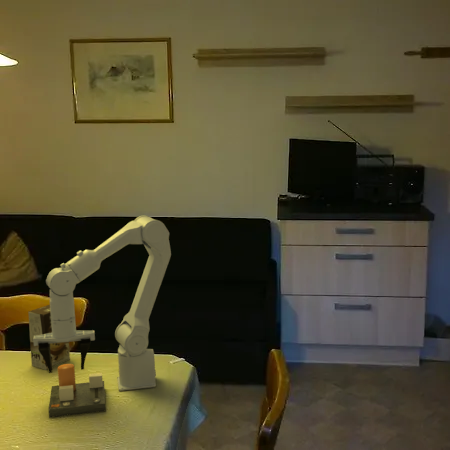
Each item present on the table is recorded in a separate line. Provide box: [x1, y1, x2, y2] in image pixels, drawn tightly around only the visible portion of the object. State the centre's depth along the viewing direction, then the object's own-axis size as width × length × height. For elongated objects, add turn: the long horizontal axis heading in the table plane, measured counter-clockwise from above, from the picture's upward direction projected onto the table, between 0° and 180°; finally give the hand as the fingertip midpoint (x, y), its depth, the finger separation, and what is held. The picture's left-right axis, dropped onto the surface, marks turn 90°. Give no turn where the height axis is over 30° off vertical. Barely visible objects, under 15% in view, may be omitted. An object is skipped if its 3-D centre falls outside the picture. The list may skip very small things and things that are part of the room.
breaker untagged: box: [88, 372, 104, 388], centre depth 154 cm, size 3×2×3 cm, turn 102°
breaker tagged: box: [58, 385, 74, 401], centre depth 147 cm, size 3×2×3 cm, turn 102°
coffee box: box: [27, 304, 71, 371], centre depth 173 cm, size 9×6×16 cm
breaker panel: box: [47, 380, 107, 419], centre depth 150 cm, size 13×13×2 cm
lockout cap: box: [57, 363, 77, 391], centre depth 152 cm, size 4×4×6 cm
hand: (66, 369), depth 152 cm, fingers open, 7 cm apart
